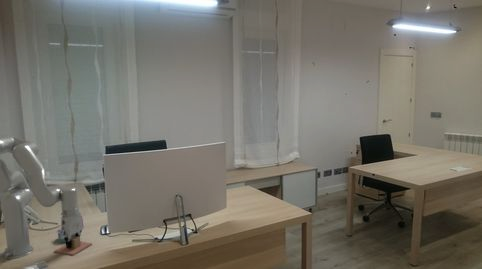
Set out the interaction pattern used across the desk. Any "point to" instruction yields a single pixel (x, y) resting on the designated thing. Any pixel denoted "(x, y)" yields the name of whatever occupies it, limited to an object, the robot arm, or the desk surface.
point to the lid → (73, 246)
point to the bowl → (64, 236)
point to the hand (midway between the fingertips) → (73, 245)
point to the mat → (71, 255)
